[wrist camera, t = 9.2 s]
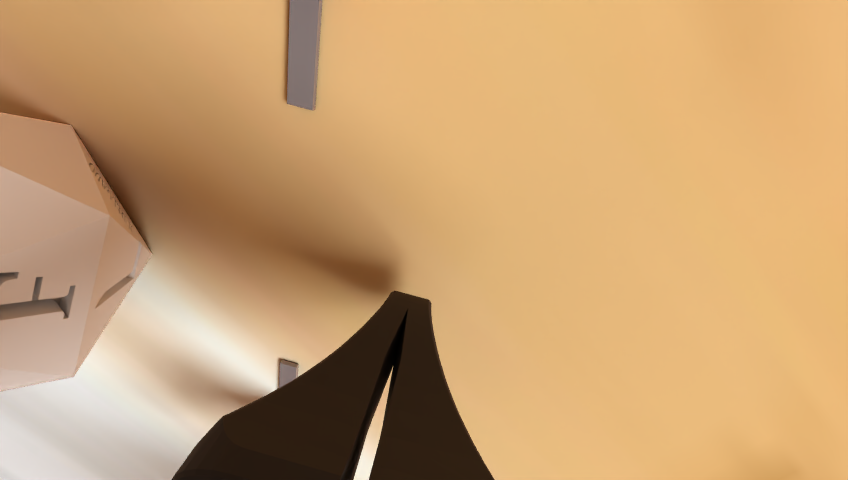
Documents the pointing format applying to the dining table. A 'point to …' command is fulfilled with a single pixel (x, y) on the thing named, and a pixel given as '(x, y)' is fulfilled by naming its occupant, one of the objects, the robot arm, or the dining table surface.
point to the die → (57, 252)
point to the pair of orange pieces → (302, 85)
